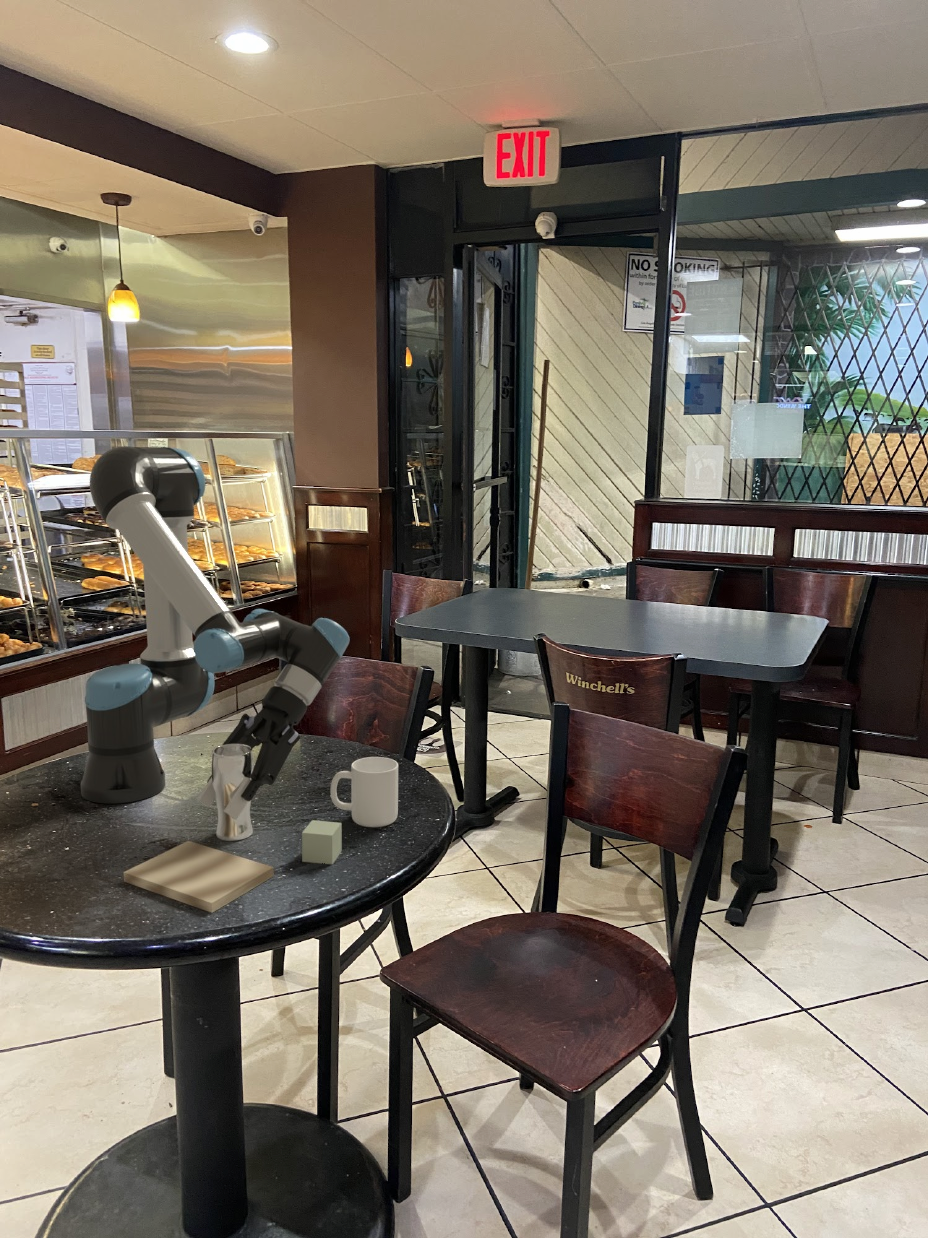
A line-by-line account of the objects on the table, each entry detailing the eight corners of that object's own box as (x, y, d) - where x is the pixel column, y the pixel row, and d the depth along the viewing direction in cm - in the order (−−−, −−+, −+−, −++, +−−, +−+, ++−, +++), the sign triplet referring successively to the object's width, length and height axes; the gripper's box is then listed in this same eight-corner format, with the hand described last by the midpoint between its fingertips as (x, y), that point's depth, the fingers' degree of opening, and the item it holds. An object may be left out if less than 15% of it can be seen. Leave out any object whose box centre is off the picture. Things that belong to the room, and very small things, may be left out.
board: (124, 881, 134) (123, 872, 134) (188, 849, 145) (188, 841, 145) (212, 913, 125) (211, 903, 125) (273, 876, 137) (273, 867, 136)
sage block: (302, 862, 142) (301, 832, 141) (312, 848, 147) (312, 820, 146) (332, 865, 141) (332, 835, 140) (341, 851, 146) (341, 823, 145)
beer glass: (218, 845, 147) (215, 759, 144) (209, 829, 153) (206, 746, 150) (260, 837, 150) (258, 753, 147) (249, 822, 156) (247, 741, 153)
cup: (397, 827, 155) (397, 772, 154) (328, 828, 155) (328, 772, 153) (398, 809, 164) (398, 756, 162) (332, 809, 163) (332, 756, 161)
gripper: (340, 718, 154) (267, 836, 144) (267, 697, 166) (195, 804, 156) (316, 694, 149) (239, 815, 139) (243, 675, 161) (167, 784, 151)
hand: (216, 809), depth 148 cm, fingers closed on beer glass, 7 cm apart
